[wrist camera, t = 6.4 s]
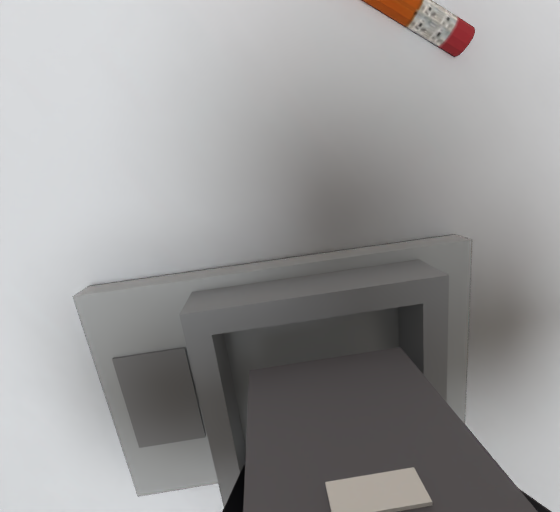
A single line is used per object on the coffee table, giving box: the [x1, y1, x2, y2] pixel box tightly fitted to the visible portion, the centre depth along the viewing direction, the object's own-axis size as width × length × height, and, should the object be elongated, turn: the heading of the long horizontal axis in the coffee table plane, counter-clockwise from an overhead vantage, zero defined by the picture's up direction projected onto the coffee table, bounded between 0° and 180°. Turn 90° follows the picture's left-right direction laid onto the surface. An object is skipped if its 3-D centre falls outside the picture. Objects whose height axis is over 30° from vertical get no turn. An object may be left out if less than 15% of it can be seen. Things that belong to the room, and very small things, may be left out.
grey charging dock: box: [73, 234, 472, 507], centre depth 11 cm, size 9×14×3 cm, turn 97°
